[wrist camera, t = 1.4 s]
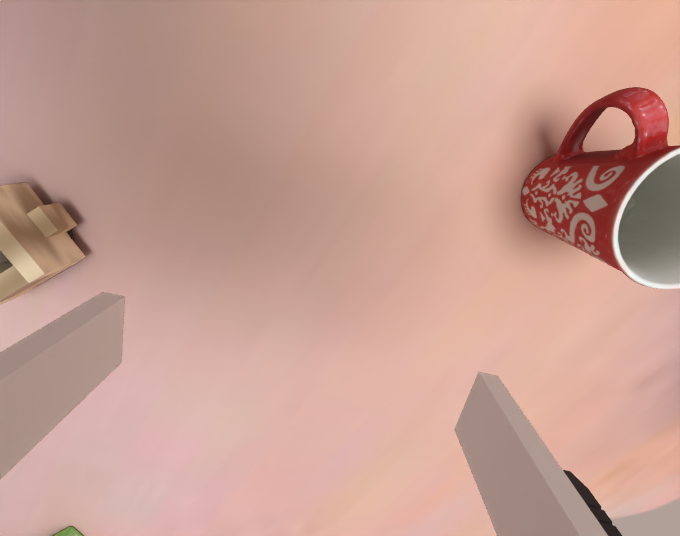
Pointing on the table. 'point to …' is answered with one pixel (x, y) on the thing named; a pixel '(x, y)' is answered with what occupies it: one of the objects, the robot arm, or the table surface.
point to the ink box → (68, 532)
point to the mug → (615, 193)
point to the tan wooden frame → (32, 240)
